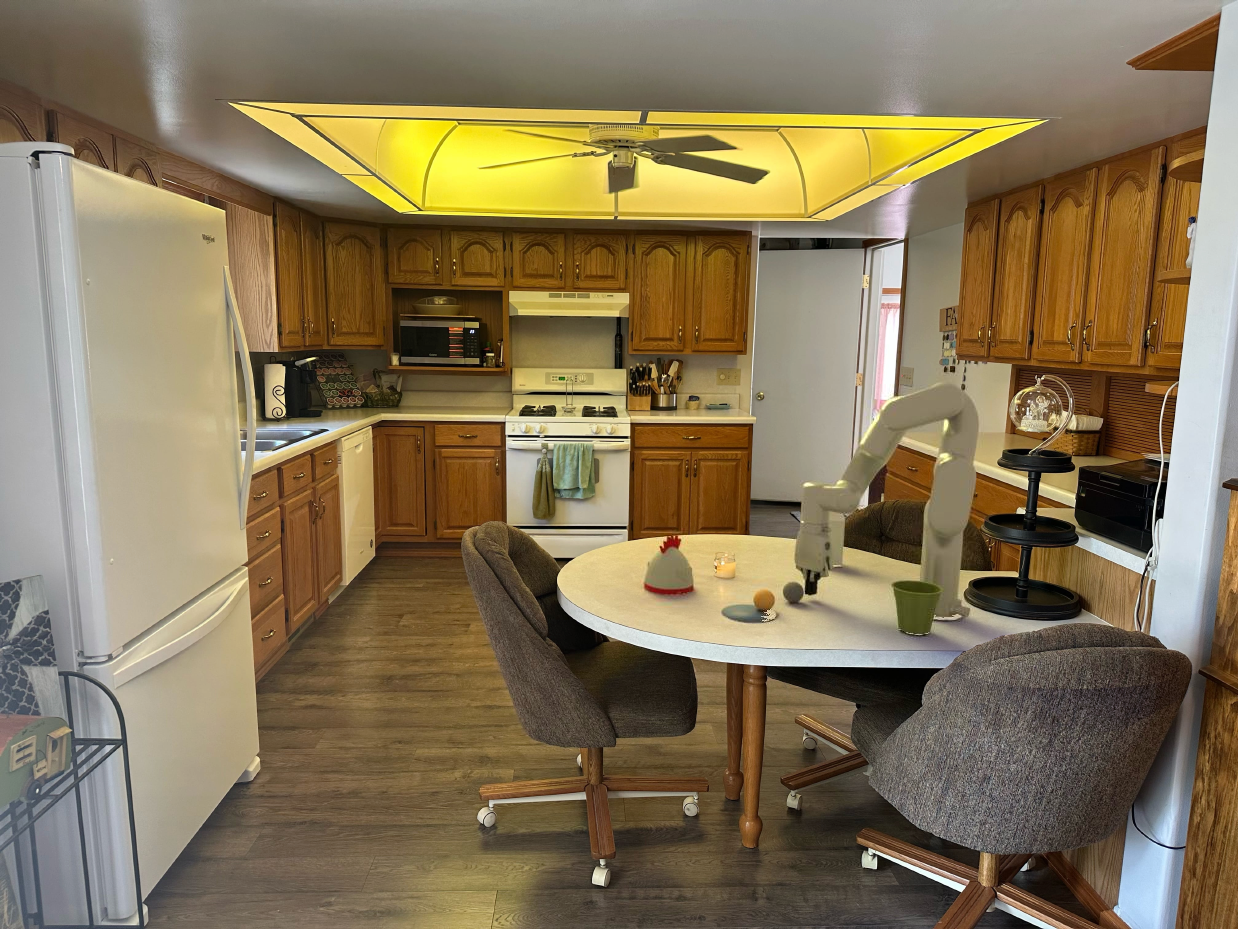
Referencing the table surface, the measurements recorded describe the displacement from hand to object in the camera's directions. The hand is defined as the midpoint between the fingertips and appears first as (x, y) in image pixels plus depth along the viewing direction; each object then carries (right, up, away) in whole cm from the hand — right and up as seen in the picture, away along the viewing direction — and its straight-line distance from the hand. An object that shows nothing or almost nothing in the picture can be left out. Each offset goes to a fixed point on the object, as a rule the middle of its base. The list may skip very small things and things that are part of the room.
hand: (810, 594), depth 226 cm
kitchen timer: (-38, 0, +8) cm, 39 cm away
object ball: (-14, 0, -10) cm, 18 cm away
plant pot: (+20, -6, -24) cm, 31 cm away
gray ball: (-5, +1, -3) cm, 6 cm away
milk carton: (+14, +3, +37) cm, 40 cm away
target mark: (-19, -3, -13) cm, 23 cm away
